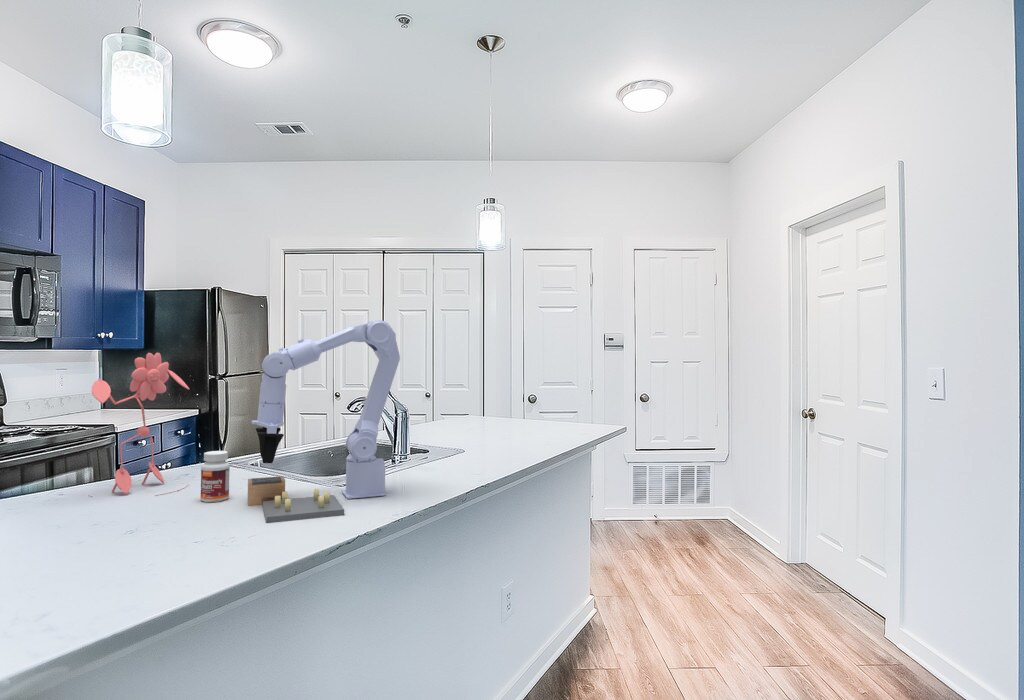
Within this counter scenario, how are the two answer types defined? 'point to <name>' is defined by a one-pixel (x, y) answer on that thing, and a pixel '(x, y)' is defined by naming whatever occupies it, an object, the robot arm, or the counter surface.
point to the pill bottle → (215, 477)
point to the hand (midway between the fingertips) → (266, 460)
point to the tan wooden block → (264, 489)
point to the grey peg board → (301, 507)
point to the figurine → (147, 385)
